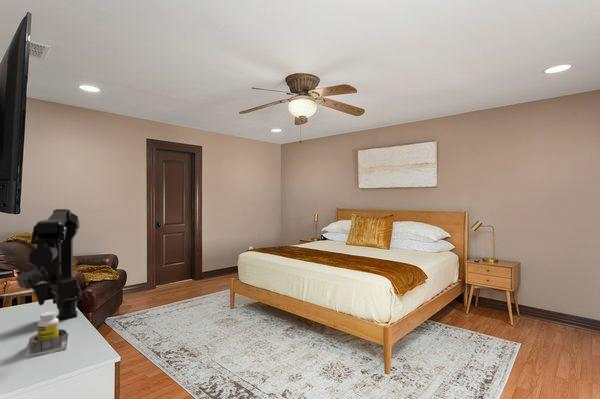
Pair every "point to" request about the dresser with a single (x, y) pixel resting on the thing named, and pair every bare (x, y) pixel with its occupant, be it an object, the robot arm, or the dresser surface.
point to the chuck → (47, 344)
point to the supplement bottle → (48, 326)
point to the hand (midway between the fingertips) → (50, 307)
